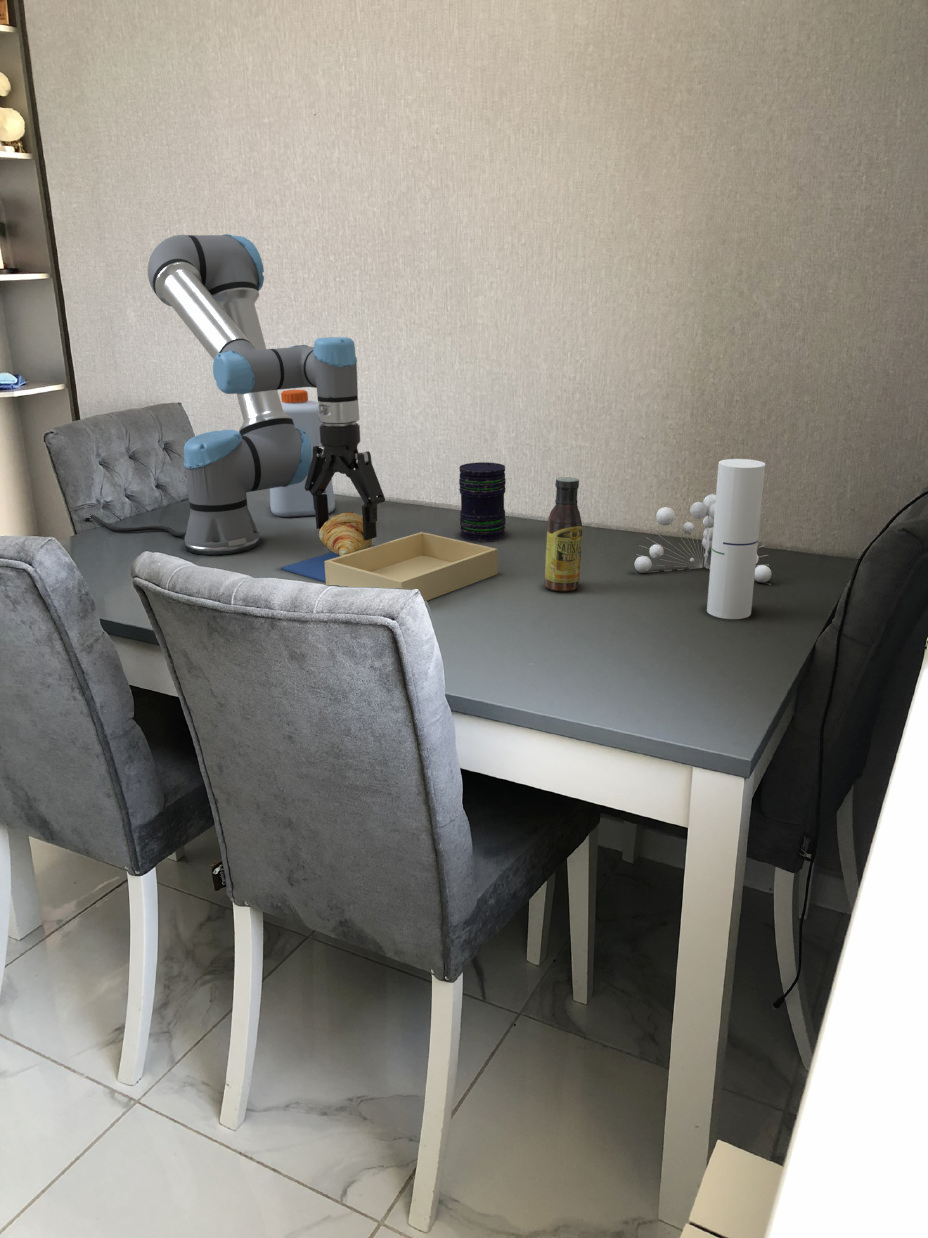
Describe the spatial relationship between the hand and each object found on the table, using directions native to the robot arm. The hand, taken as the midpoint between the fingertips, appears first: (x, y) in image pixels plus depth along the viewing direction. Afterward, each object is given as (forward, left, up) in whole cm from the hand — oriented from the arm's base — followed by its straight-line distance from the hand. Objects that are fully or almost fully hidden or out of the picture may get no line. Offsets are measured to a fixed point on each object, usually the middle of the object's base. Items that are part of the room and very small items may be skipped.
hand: (346, 533), depth 189 cm
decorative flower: (+54, +38, -6) cm, 66 cm away
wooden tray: (+18, 0, -6) cm, 19 cm away
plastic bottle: (-41, +23, -6) cm, 47 cm away
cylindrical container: (+71, +21, -6) cm, 74 cm away
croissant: (0, 0, -3) cm, 3 cm away
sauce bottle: (+42, +14, -6) cm, 45 cm away
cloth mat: (0, 0, -6) cm, 6 cm away
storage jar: (+8, +32, -6) cm, 34 cm away
